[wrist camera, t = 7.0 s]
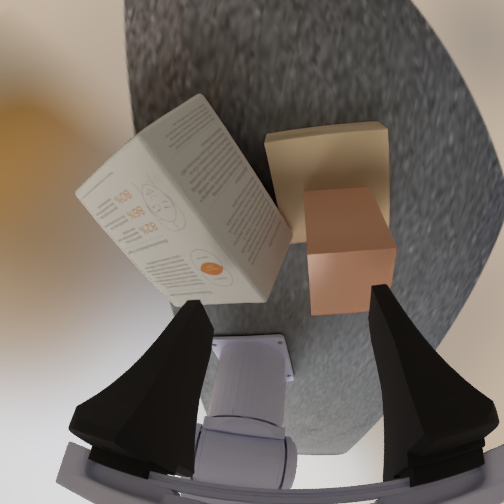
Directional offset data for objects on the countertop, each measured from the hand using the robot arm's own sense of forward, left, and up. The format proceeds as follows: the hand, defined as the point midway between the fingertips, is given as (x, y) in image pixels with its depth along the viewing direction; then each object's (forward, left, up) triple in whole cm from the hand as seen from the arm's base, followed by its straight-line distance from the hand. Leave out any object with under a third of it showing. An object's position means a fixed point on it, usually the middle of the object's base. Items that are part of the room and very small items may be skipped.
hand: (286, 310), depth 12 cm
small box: (+7, +7, -6) cm, 12 cm away
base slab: (+1, -3, -10) cm, 10 cm away
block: (-1, -3, -8) cm, 8 cm away
